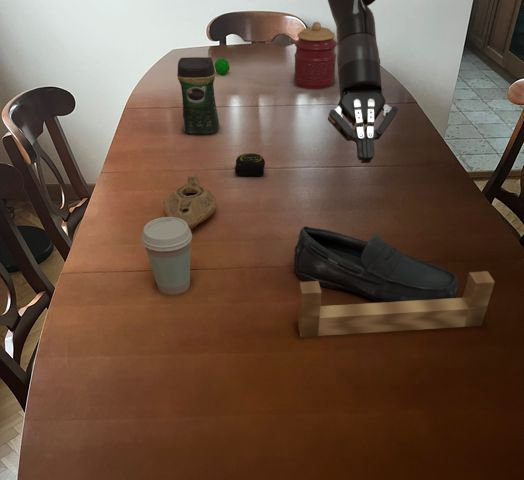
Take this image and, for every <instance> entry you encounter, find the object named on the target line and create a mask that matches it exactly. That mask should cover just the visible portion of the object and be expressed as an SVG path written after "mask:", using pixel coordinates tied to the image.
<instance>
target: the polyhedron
mask: <svg viewBox="0 0 524 480" xmlns="http://www.w3.org/2000/svg"><path fill="white" fill-rule="evenodd" d="M213 65H214V69H215V73H217V74H218V75H220V76H225V75H227V74H228V73H229V72H230V63H229V61H228V60H227V59H225V58H223V57H222V58H221V57H220V58H219V59H217V60H216V61H215V62H214V64H213Z"/></svg>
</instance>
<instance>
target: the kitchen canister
mask: <svg viewBox="0 0 524 480" xmlns="http://www.w3.org/2000/svg"><path fill="white" fill-rule="evenodd" d="M335 36H336V34H335V32H333V31H332V30H331V29H330V28H327V27H322V24H321V22H319V21H314V22H313V23H312V26H310V27H305V28H303V29H302V30H301V31H299V32H298V33H297V38H298V39H297V40H295V42H294V46H295V47H296V48H295V49H296V50H295V53H294V74H293V81H294V85H295V86H297V87H298V88H301V89H305V90H324V89H328V88H331V87H333V86H334V84H335V80H336V73H335V72H336V61H337V59H336V58H337V53H336V47H338V46H337V40H335V39H334V38H336V37H335Z"/></svg>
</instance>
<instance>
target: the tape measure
mask: <svg viewBox="0 0 524 480" xmlns="http://www.w3.org/2000/svg"><path fill="white" fill-rule="evenodd" d="M265 166H266V162H265V159H264V157H263V156H262V155H261V154H258V153H254V152H251V153H250V152H249V153H247V152H246V153H243V154H240V155H238V157H236V160H235V166H234V173H235V174H236V175H237V176H243V177H244V176H245V177H246V176H247V177H254V176H255V177H256V176H257V177H262V176H264V174H265Z"/></svg>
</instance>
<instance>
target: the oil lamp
mask: <svg viewBox="0 0 524 480" xmlns="http://www.w3.org/2000/svg"><path fill="white" fill-rule="evenodd" d="M163 209H164V213H165V215H166V217H176V218H180V219H182V220H184V221H185V222H186V223H187V225H188V227H189V228H190V230H192V229H194V228H195V227H196V226H197V225H199V224H202V223H203V222H205V221H206V220H207V219H208V218H210V217H211V216H212V215H213V214H214V212H215V211H216V209H217V198H216V196H215V194H213V193H212V192H211V191H210V190H208V189H207V188H205V186H202V184H201V182H200V179H199V177H198V175H197V174H196V173H190V174H188V175H187V183H186V184H183V185H180V186H179V187H177V188H176V189H175V190H174V191H172V192H171V193H170V194H169V195H168V196H167V197H166V198H165V200H164V202H163Z"/></svg>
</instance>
